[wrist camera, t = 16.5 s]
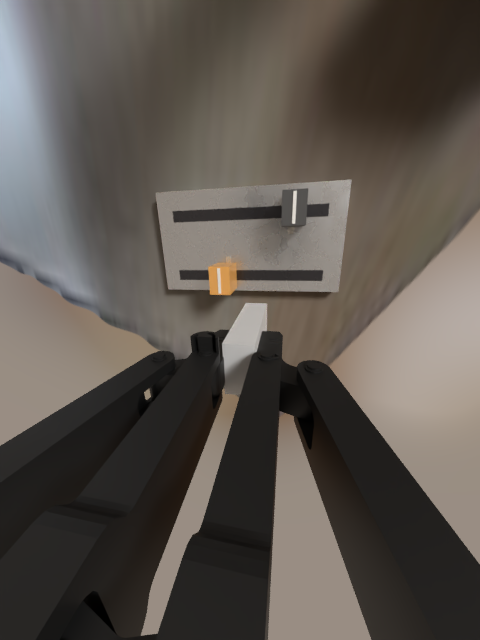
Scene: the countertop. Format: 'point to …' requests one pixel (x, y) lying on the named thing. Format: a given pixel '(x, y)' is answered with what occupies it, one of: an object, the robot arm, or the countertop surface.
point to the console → (254, 237)
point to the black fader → (294, 207)
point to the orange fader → (222, 278)
